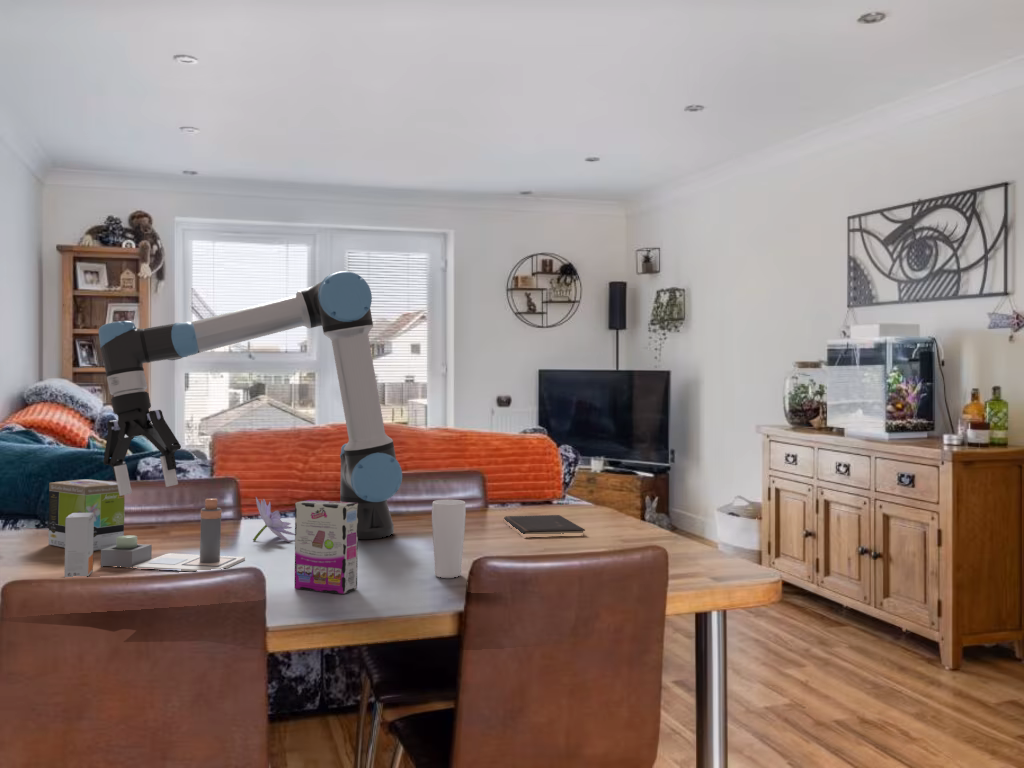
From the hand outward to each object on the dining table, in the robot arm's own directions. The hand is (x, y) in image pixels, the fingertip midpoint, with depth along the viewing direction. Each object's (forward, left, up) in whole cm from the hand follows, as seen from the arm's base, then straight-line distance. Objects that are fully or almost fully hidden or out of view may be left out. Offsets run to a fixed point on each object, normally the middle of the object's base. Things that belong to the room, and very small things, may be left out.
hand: (148, 490), depth 185 cm
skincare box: (+4, +17, -15) cm, 23 cm away
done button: (+1, +6, -11) cm, 13 cm away
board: (-12, +3, -15) cm, 19 cm away
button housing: (+1, +6, -15) cm, 16 cm away
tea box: (+22, -10, -15) cm, 28 cm away
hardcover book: (-79, -55, -16) cm, 98 cm away
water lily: (-17, -26, -15) cm, 34 cm away
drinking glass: (-67, +2, -15) cm, 68 cm away
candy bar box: (-47, +17, -15) cm, 52 cm away
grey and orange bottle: (-16, +3, -14) cm, 21 cm away
